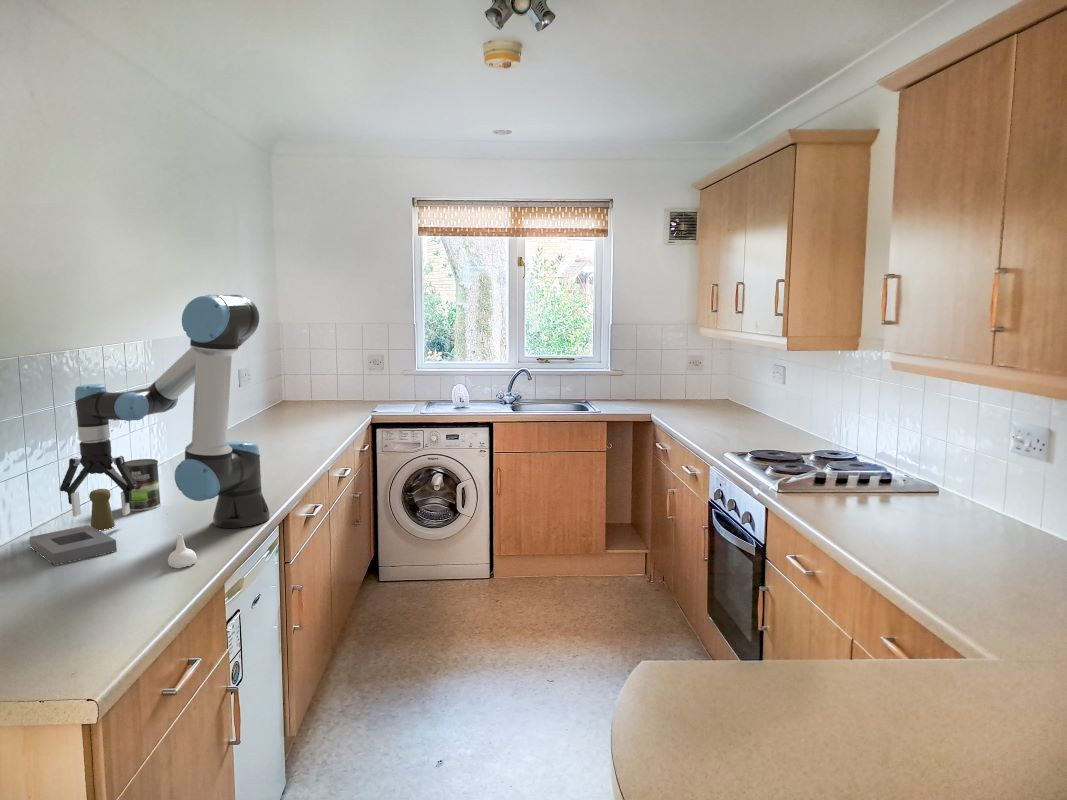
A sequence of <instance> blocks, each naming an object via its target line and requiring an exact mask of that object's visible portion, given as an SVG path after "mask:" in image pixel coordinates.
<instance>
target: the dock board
mask: <svg viewBox="0 0 1067 800" xmlns="http://www.w3.org/2000/svg"><path fill="white" fill-rule="evenodd" d="M29 547H32V548H33V549H34V550H35V551H37V552H38V553H39V554H41V555H42V556H44V557H45V558H46V559H48V560H49V561H50V562H51V563H50V562H49V561H48V560H47V561H48V562H49V563H50V564H52V563H53V564H54V565H53V564H52V565H53V566H55V565H56V566H58V565H57V564H60V565H62V564H61V563H64V564H66V563H65V562H69V561H73V562H75V561H74V560H77V561H80V560H79V559H81V560H84V559H83V558H86V559H89V558H88V557H90V558H93V557H92V556H94V557H97V556H96V555H99V556H101V555H100V554H103V555H105V554H104V553H107V554H109V553H108V552H111V553H113V552H112V551H116V550H118V549H117V539H115V538H113V537H112V536H109V535H107V534H106V533H104V531H99V530H97V529H95V528H94V527H92V526H91V524H86V525H80V526H76V527H71V528H66V529H62V530H57V531H52V532H51V531H50V532H47V533H41V534H38V535H33V536H29ZM34 550H33V551H34ZM35 551H34V552H35ZM37 552H36V553H37ZM116 552H117V551H116ZM38 553H37V554H38ZM39 554H38V555H39ZM41 555H40V556H41ZM42 556H41V557H42ZM45 558H44V559H45ZM46 559H45V560H46ZM69 563H70V562H69Z"/></svg>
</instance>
